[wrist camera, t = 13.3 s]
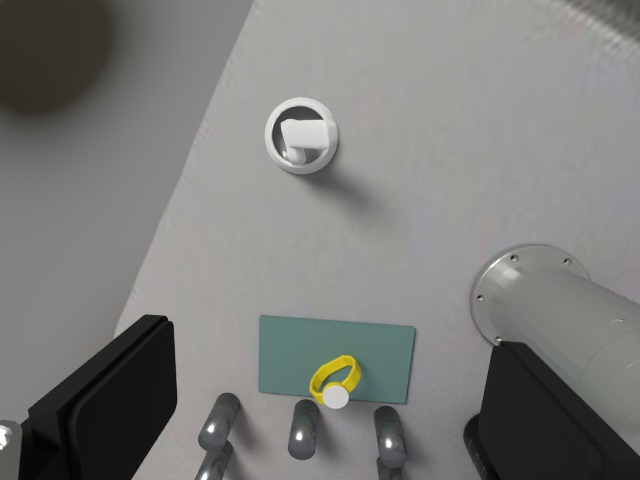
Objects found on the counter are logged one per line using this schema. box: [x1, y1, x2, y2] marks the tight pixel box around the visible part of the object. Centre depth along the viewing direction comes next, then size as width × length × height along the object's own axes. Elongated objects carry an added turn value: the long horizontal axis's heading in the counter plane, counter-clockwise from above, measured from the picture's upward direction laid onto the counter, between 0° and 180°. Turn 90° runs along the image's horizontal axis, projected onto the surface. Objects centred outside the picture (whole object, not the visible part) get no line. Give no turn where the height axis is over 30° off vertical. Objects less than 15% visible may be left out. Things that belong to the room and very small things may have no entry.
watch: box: [310, 355, 361, 409], centre depth 38 cm, size 6×3×6 cm, turn 122°
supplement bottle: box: [463, 413, 501, 480], centre depth 37 cm, size 7×7×12 cm
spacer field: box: [195, 393, 407, 480], centre depth 42 cm, size 25×17×6 cm
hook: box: [265, 98, 339, 174], centre depth 33 cm, size 8×12×7 cm
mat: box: [259, 315, 415, 404], centre depth 41 cm, size 18×10×1 cm, turn 87°
